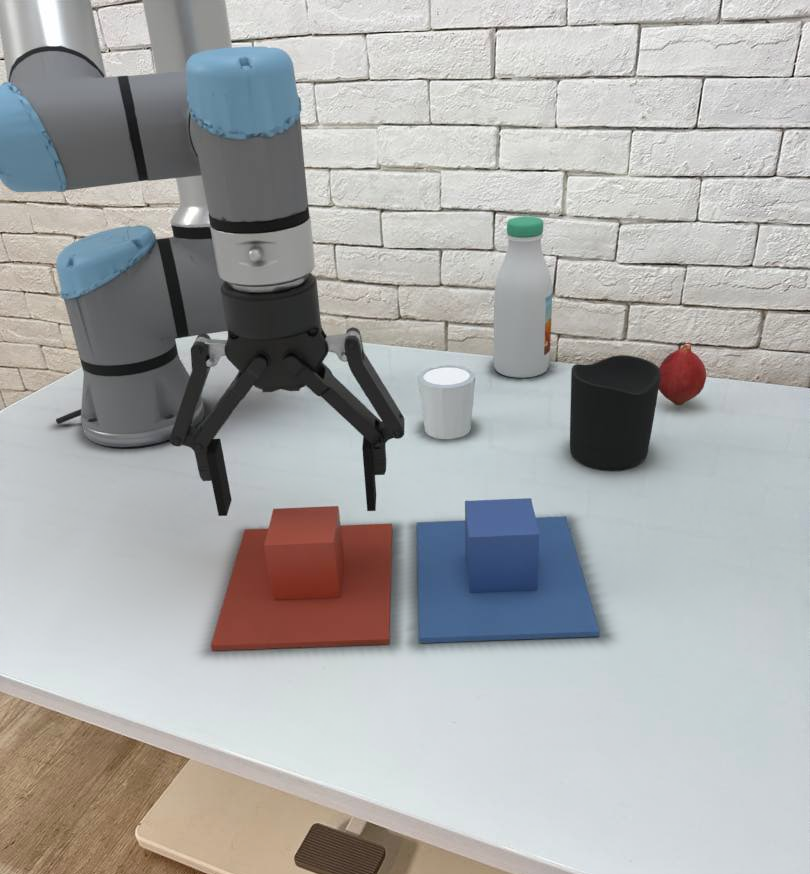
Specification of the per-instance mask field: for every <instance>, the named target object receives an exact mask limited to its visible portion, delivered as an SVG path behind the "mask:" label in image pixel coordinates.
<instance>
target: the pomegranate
mask: <svg viewBox="0 0 810 874" xmlns="http://www.w3.org/2000/svg"><path fill="white" fill-rule="evenodd" d="M658 367H659V369H660V370H661V378H660V384H659V390H658V392H660V393H661V395H663V397H664V398H665V399H667V400H668V401H669V402H671V403H672V404H674V405H675V406H682V405H684V404H685V403H686V402H688V401H690V400H691V399H694V398H695V397H697V396H698V395H699V394H700V393H701V392H702V390H703V389H704V387H705V384H706V380H707V369H706V366H705V364H704V362H703V361H702V360H701V358H700V357H699V356H698V355H697V353H694V352H693V350H692V345H691V343H685V344H683V345H682V346H681V347H679V348H678V349H677V350H675V351H673V352H671V353H670V354H668V355H667V356H666V357H665V358H664V359H663V360H662V361H661V363H660V365H659V366H658Z"/></svg>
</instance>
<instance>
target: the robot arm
mask: <svg viewBox="0 0 810 874" xmlns="http://www.w3.org/2000/svg"><path fill="white" fill-rule="evenodd" d="M142 5H143V10H144V15H145V21H146V26H147V32H148V37H149V43H150V47H151V53H152V58H153V63H154V64H153V65H154V69H155V73H147V74H133V75H118V76H116V75H115V76H107V74H106V69H105V64H104V58H103V55H102V54H103V53H102V50H101V45H100V40H99V35H98V30H97V26H96V25H97V24H96V21H95V15H94V12H93V11H94V10H93V6H92V1H91V0H0V38H1V46H2V52H3V53H2V54H3V59H4V67H5V72H6V73H5V74H6V79H7V80H6V81H4V82H3V83H1V84H0V181H1V183H2V184H3V185H4V187H6V188H7V189H8V190H10V191H12V192H15V193H44V192H45V193H47V192H56V193H66V191H72V190H73V191H74V190H81V189H90V188H97V187H98V188H99V187H106V186H114V185H122V184H128V183H129V184H130V183H137V182H144V181H148V182H151V181H152V182H153V181H162V180H170V179H175V180H176V185H177V192H178V196H179V207H178V208H177V210H176V212H175V213H174V214H173V215H172V217H171V219H170V225H171V231H172V236H171V237H163V238H157V237H156V235H157V234H156V233H154V231H153V229H152V228H151V227H150V226H146V225H140V224H139V225H138V224H137V225H134V226H133V225H132V226H131V225H127V226H126V225H125V226H120V227H115V228H110V229H105V230H102V231H99V232H96V233H93V234H90V235H87V236H84V237H82V238H80V239H78V240H75V241H74V242H72V243H70V244H68V245H67V246H66V247H64V248H63V249H62V250H61V251H60V252H59V254H58V255H57V258H56V263H55V269H56V273H57V277H58V282H59V287H60V291H59V294H60V298H61V299H63V302H64V305H65V308H66V311H67V315H68V319H69V323H70V327H71V330H72V334H73V338H74V342H75V346H76V350H77V354H78V358H79V361H80V365H81V368H82V372H83V381H82V382H83V383H82V395H81V406H80V407H81V408H80V409H77V410H75V411H72V412H70V413H67V414H64V415H63V416H62V415H61V416H60V417H57V418H56V419H55V422H56V424H57V425H60V424H63V423H65V422H67V421H70V420H73V419H75V418H78V417H80V421H81V422H80V423H81V426H82V429H83V432H84V435H85V437H86V438H87V439H88V440H89V441H91V442H92V443H95V444H98V445H101V446H106V447H113V448H135V447H144V446H150V445H155V444H159V443H163V442H166V441H169V442H170V444H171V445H172V446H173V447H178V448H179V447H182V446H184V447H188V448H190V449H192V451H193V452H194V456H195V460H196V466H197V470H198V476H199V477H200V479H201V480H202V482H211V485H212V490H213V491H212V492H213V496H214V500H215V505H216V510H217V516H218V517H227V516H228V513H229V509H230V507H231V503H232V493H231V489H230V483H229V478H228V473H227V472H228V471H227V468H226V461H225V457H224V451H223V445H222V440H221V438H215V437H216V436H217V434H218V433H219V431H220V430H221V429H222V427H224V425H225V423H226V422H227V420H229V418H230V417H231V415H232V414H233V412H234V411H235V410H236V408H237V407H238V406H239V405H240V402H241V401H242V400H244V399H245V397H246V396H247V395H248V393H249V392H250V391H251V389H252V388H253V387H255V388H256V389H259V390H262V393H273V392H275V391H276V392H277V391H280V390H281V391H282V390H283V391H287V392H300V390H301V389H302V388H304V387H307V388H308V389H309V390H310V391H311V392H312V393H313V394H314V395H316V396H317V397H321V398H322V399H323V400H324V401H325V402H326V403H327V404H328V405H329V406H331V407H332V408H333V410H335V411H336V412H337V413H338V414H339V415H340V416H341V417H342V418H343V419H344V420H346V422H347V423H348V424H349V425H350V426H352V427H353V428H354V429H355V430H356V431H357V432H358V433H359V434H360V435H361V436H363V437H362V446H361V447H362V448H361V449H362V462H363V473H364V474H363V475H364V488H365V499H366V511H367V512H376V511H377V510H376V508H377V483H376V476H385V474H386V471H387V450H386V444H387V442H388V441H389V440H392V439H397V440H400V439H402V438H403V437H404V436H405V417H404V415H403V413H402V412H401V410H400V408H399V407H398V405H397V403H396V402H395V400H394V398H393V397H392V396H391V393H390V391H388V389H387V387H386V385H385V384H384V382H383V380H382V379H381V377H380V375H379V374H378V372H377V370H376V369H375V367H374V366H373V364H372V362H371V361H370V359H369V358H368V356H367V355H366V353H365V349H364V345H363V339H362V335H361V331H360V329H358V328H357V327H354V326H353V327H349V328H348V329H347V330H346V332H345V333H339V334H332V335H327V334H326V333H325V331H324V329H323V326H322V321H321V319H322V318H321V309H320V301H319V300H320V299H319V290H318V280H317V278H316V277H315V276H314V275H313V273H312V272H313V271H314V269H315V268H316V261H315V260H316V259H315V251H314V250H315V249H314V240H313V229H312V221H311V219H312V218H311V214H310V209H309V197H308V189H307V178H306V168H305V167H306V166H305V155H304V144H303V134H302V121H301V112H302V100H301V97H300V96H299V94H298V88H297V80H296V75H295V67H294V62H293V60H292V57H291V56H290V55H289V54H288V53H287V52H286V51H285V50H283V49H281V48H279V47H267V46H237V47H233V43H232V37H231V29H230V23H229V16H228V9H227V3H226V0H142ZM224 332H227V339H217V338H216V339H215V338H211V336H210V335H209V334H217V333H224ZM195 336H196V338H195V340H194V342H193V343H192V346H191V348H190V359H191V360H190V361H191V371H190V373H188V370H187V368H186V367H185V364H184V363H183V362H182V359H180V355H179V352H178V346H177V342H176V339H182V338H188V337H195ZM329 352H332V353H334V354H335V355H336V356H337V358H338V359H339V360H340V361H341V362H344V363H347V365H348V367H349V369H350V372H351V374H352V375H353V377H354V379H355V380H356V382H357V384H358V385H359V387H360V388H361V390H362V392H363V393H364V394H365V396H366V398H367V400H368V401H369V403H370V404H371V406H372V408H373V409H374V411H375V412H376V414H377V415H378V416H376V415H375V414H374V413H373V412H372V411H371V410H370V409H369V408H368V407H367V406H366V405H365V404H364V403H362V401H360V400H359V399H358V397H357V396H355V394H353V392H351V391H350V390H349V389H348V388H347V387H346V386H345V385H344V384H343V383H342V382H341V381H340V380H339V379H337V378H336V377H335V375H334V374H333V372H332V370H331V369H330V368H329V367H328V366H327V365H326V364H325V363H324V361H325V359H326V357H327V356H328V354H329ZM222 357H225V358H226V360H228V361H229V362H230V363H231V364H232V366H234V367H235V368H236V369H237V370H238V372H237V373H236V375H235V377H234V378H233V380H232V382H231V383H230V384H229V386H228V387H227V389H226V390H225V391H224V393H223V394H222V396H221V397H220V398H219V400H218V401H217V402H216V404H215V405H214V407H213V408H212V410H211V411H210V412H209V413H208V415H207V416H206V417H205V406H204V402H203V397H202V394H203V391H204V388H205V385H206V382H207V379H208V376H209V373H210V370H211V368H214V367H215V366H217V365H218V363H219V361H220V359H221V358H222ZM204 417H205V420H204V421H203V422H202V423H201V421H202V420H203V419H204ZM379 418H380V419H379ZM200 423H201V424H200ZM198 425H199V426H198ZM197 426H198V427H197Z"/></svg>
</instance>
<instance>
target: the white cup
mask: <svg viewBox="0 0 810 874" xmlns="http://www.w3.org/2000/svg"><path fill="white" fill-rule="evenodd" d="M417 382H418V383H417V384H418V389H419V396H420V403H421V404H420V405H421V409H422V411H421V412H422V418H423V426H424V432H425V433H426V434H427V435H428V436H429V437H431V438H434V439H438V440H439V439H440V440H454V439H460V438H463V437H464V436H467V435H468V434H469V433H470V431H471V429H472V420H473V419H472V418H473V408H474V397H475V385H476V374H475V372H474V371H473V370H471V369H470V368H468V367H465V366H461V365H453V364H450V365H448V364H447V365H446V364H445V365H437V366H433V367H429V368H426V369H424V370H422V371H421V372H420V373H419V374H418V375H417Z"/></svg>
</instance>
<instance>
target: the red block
mask: <svg viewBox="0 0 810 874" xmlns="http://www.w3.org/2000/svg"><path fill="white" fill-rule="evenodd" d="M271 512H272V513H271V516H270V520H269V525H268V533H267V537H266V541H265V545H264V546H265V552H266V558H267V564H268V570H269V575H270V581H271V587H272V593H273V599H274V600H291V599H316V598H340V595H341V585H342V576H343V566H344V553H343V543H342V534H341V525H342V524H341V517H340V508H339V505H330V506H327V505H326V506H304V507H303V506H302V507H282V508H281V507H280V508H278V507H277V508H273V509H272V511H271Z"/></svg>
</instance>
